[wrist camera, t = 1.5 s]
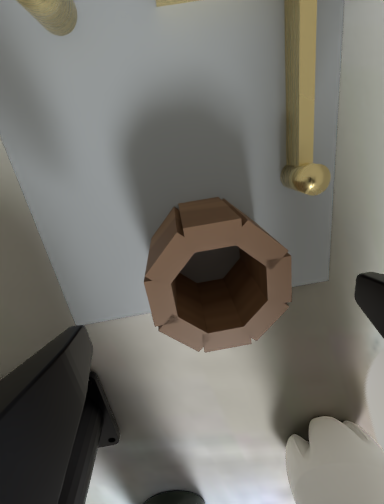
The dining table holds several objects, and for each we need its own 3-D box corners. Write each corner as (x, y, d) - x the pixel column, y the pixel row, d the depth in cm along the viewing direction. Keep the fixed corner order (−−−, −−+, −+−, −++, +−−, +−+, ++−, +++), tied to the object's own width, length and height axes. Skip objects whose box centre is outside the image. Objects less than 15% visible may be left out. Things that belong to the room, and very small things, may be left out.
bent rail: (305, 186, 12) (330, 193, 10) (188, 206, 12) (192, 216, 10) (308, -38, 9) (343, -85, 7) (152, -15, 9) (149, -57, 7)
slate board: (320, 274, 15) (328, 280, 14) (80, 317, 15) (76, 326, 14) (337, -133, 9) (353, -159, 8) (-71, -76, 9) (-93, -97, 8)
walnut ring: (259, 286, 14) (291, 336, 10) (164, 303, 14) (163, 360, 10) (253, 190, 12) (291, 209, 8) (142, 209, 12) (132, 237, 8)
